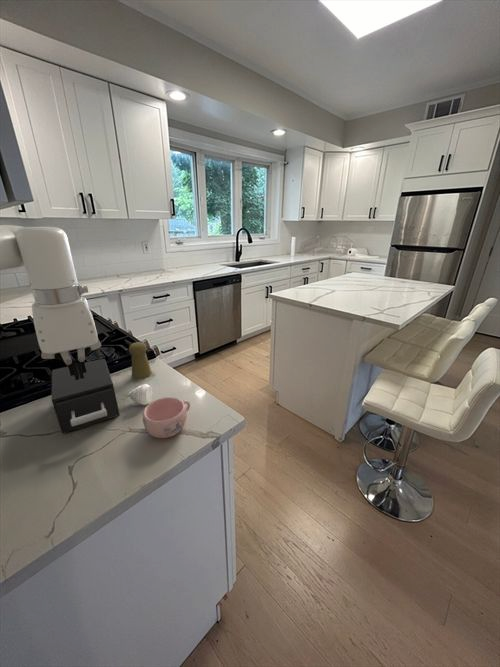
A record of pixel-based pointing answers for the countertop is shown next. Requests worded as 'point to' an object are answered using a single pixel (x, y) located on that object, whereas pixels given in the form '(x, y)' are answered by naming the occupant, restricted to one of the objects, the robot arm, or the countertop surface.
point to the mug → (165, 416)
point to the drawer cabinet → (81, 383)
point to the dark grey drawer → (86, 409)
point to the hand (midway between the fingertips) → (79, 376)
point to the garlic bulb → (141, 394)
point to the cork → (139, 361)
